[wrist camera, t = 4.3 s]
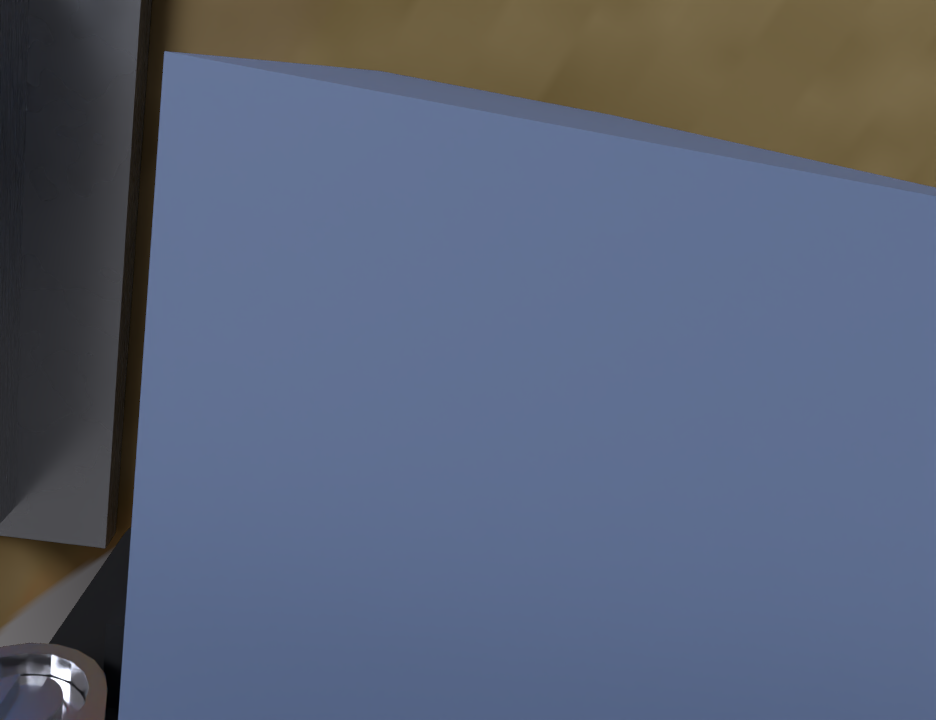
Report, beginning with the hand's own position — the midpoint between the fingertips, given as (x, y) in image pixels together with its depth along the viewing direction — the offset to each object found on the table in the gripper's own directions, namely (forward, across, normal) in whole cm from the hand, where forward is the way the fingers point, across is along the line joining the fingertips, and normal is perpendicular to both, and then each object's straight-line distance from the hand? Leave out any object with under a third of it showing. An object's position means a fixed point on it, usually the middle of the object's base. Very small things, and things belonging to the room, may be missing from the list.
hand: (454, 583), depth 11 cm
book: (+10, 0, 0) cm, 10 cm away
